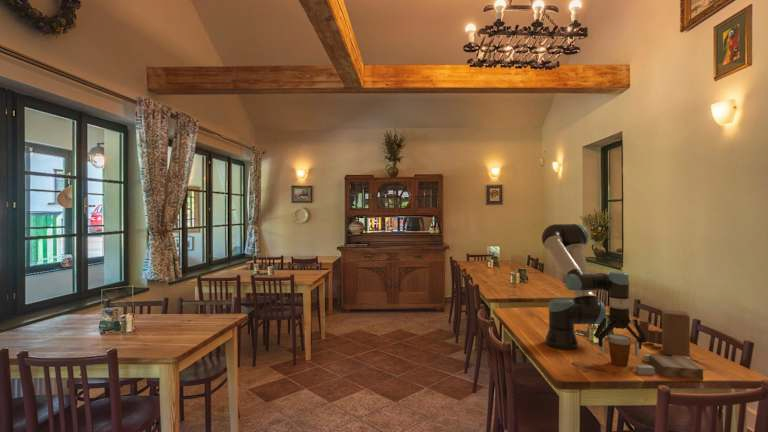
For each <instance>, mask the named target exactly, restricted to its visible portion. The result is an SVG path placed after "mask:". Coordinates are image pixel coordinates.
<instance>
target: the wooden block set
mask: <svg viewBox="0 0 768 432" xmlns="http://www.w3.org/2000/svg"><path fill="white" fill-rule="evenodd" d="M638 325H639V327H640V329H641V331H642V333H643V334H644V336H645V338H646V341H645V342H648V343H650V344H657V345H662V330H653V329H649V327H650V322H649V321H648V320H643V319H639V321H638ZM637 336H638V337H639V338H641V337H640V335H639V334H638V333H637Z"/></svg>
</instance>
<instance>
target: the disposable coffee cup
mask: <svg viewBox="0 0 768 432" xmlns="http://www.w3.org/2000/svg"><path fill="white" fill-rule="evenodd" d="M606 339H607V342H608V347H609V348H608V349H609V355H610V362H611V365H615V366H618V367H627V366H628V365H629V358H630V353H631V344H632V342H633V341H632V339H631V337H630V336H628V335H624V334H620V333H619V334H618V333H610V334H607V337H606Z"/></svg>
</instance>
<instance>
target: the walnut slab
mask: <svg viewBox="0 0 768 432" xmlns="http://www.w3.org/2000/svg"><path fill="white" fill-rule="evenodd" d="M649 365H651V366H652V367H654V368H655V370H656V371H657V372H658V373H659V374H660V375H661V376H663V377H669V378H679V377H680V378H681V379H694V380H704V369H703V368H701V367H700V366H699V365H697V364H696V363H695V362H693V361H692V360H691V359H690V360H689V359H687V358H686V357H673V356H669V355H660V354H659V355H658V354H651V355H650V363H649Z"/></svg>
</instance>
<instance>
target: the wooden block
mask: <svg viewBox="0 0 768 432" xmlns="http://www.w3.org/2000/svg"><path fill="white" fill-rule="evenodd" d="M690 318H691V317H690V315H689V313H688V312H687V311H685V310H675V309H665V308H664V309H662V310H661V331H662V344H661V348H662V354H663V355H664V356H672V355H678V356H686V357H689V358H690V356H691V355H690V354H691V351H690V350H691V349H690V347H691V346H690V344H691V341H690V338H691V336H690V335H691V334H690V333H691V331H690V330H691V329H690V328H691V325H690V324H691V323H690V321H691V320H690Z"/></svg>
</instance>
